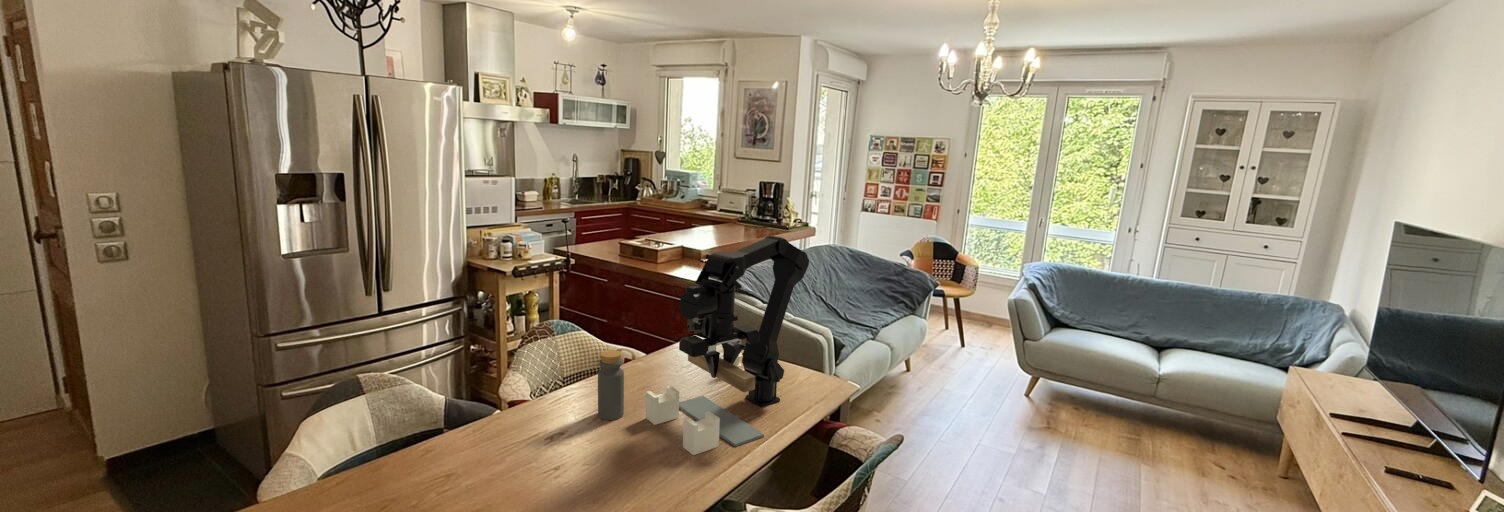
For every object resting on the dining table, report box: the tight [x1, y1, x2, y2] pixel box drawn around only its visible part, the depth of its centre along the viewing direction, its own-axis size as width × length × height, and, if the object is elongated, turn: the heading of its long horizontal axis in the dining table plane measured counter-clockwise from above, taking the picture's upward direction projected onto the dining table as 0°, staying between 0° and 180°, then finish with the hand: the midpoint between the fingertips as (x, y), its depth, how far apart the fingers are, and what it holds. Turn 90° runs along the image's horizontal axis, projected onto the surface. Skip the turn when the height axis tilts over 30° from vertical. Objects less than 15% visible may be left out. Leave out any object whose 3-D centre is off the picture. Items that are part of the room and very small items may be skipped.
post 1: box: [645, 385, 680, 426], centre depth 139 cm, size 6×4×6 cm, turn 129°
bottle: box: [597, 349, 625, 421], centre depth 139 cm, size 6×6×15 cm
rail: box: [687, 354, 755, 393], centre depth 138 cm, size 3×22×3 cm, turn 39°
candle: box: [733, 352, 745, 371], centre depth 168 cm, size 5×5×10 cm
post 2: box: [682, 411, 720, 456], centre depth 127 cm, size 6×4×6 cm, turn 129°
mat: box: [679, 395, 765, 448], centre depth 140 cm, size 8×24×1 cm, turn 39°
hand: (719, 375), depth 138 cm, fingers closed on rail, 3 cm apart
